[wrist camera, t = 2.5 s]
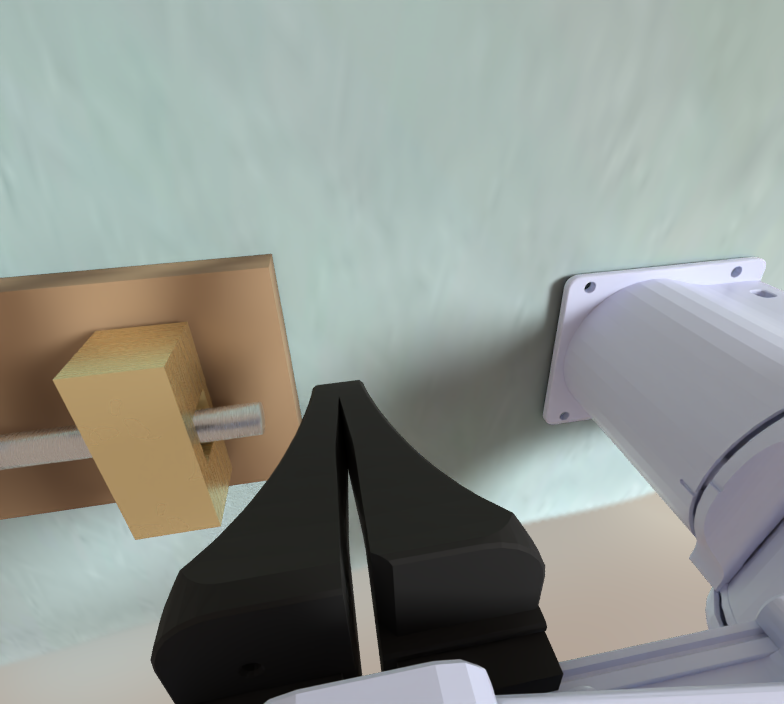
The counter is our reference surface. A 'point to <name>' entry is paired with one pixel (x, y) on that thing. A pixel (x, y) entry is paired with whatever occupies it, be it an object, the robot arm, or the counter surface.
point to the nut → (148, 427)
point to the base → (135, 309)
